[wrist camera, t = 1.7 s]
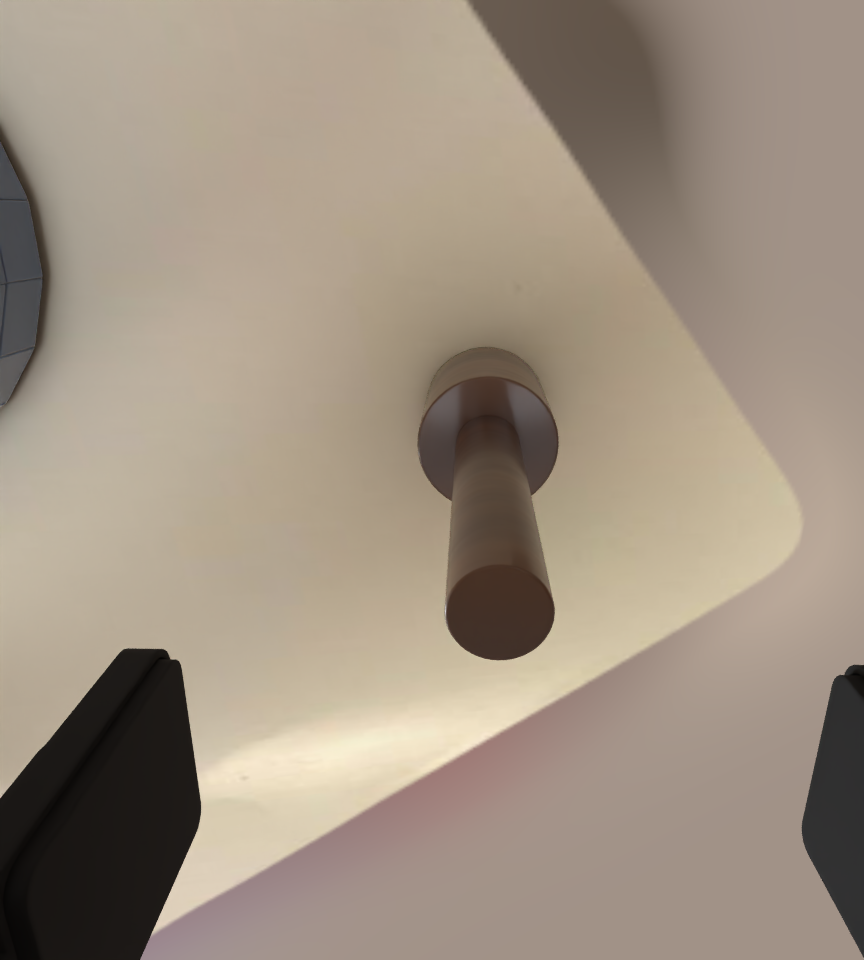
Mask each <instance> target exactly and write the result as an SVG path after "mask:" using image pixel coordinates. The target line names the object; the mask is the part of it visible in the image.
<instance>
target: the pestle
mask: <svg viewBox="0 0 864 960" xmlns="http://www.w3.org/2000/svg"><path fill="white" fill-rule="evenodd" d="M558 447H559V441H558V431H557V426H556V423H555V420H554V417H553V415H552V412H551V410H550V407H549V405H548V402H547V400H546V397H545V395H544V392H543V390H542V387H541V385H540V382H539V380H538V378H537V376H536V375H535V373H534V371H533V370H532V369H531V368H530V367H529V365H528V364H526V363H525V362H524V361H523V360H522V359H520V358H519V357H517V356H516V355H514V354H512V353H510V352H507V351H505V350H502V349H497V348H487V347H485V348H475V349H470V350H467V351H464V352H462V353H460V354H458V355H456V356H454V357H453V358H451V359H450V360H448V361H447V362H446V363H445V364H444V365H443V366H442V367H441V368H440V369H439V370H438V372H437V373H436V375H435V376H434V378H433V380H432V382H431V385H430V388H429V390H428V395H427V399H426V403H425V407H424V411H423V415H422V420H421V424H420V428H419V433H418V455H419V459H420V463H421V466H422V468H423V471H424V473H425V474H426V476H427V478H428V479H429V481H430V482H431V484H432V485H433V486H434V487H435V488H436V489H437V490H438V491H439V492H440V493H441V494H442V495H444V496H445V497H446V498H448V499H449V500H451V501H452V508H451V523H450V538H449V553H448V568H447V583H446V598H445V620H446V624H447V627H448V630H449V631H450V633H451V635H452V636H453V638H454V639H455V640H456V642H457V643H458V644H459V645H460V646H461V647H463V648H464V649H465V650H467V651H468V652H470V653H472V654H474V655H476V656H479V657H482V658H485V659H491V660H508V659H514V658H518V657H520V656H523V655H525V654H527V653H529V652H531V651H532V650H534V649H535V648H537V647H538V646H539V645H540V644H541V643H542V642H543V641H544V640H545V638H546V637H547V635H548V634H549V632H550V630H551V628H552V625H553V621H554V615H555V608H554V602H553V597H552V592H551V587H550V583H549V578H548V573H547V568H546V564H545V559H544V554H543V549H542V545H541V540H540V535H539V530H538V526H537V521H536V516H535V511H534V507H533V502H532V497H531V495H533V494H534V493H535V492H536V491H537V490H538V489H539V488H540V487H541V486H542V485H543V484H544V483H545V481H546V480H547V479H548V477H549V475H550V474H551V472H552V470H553V467H554V465H555V462H556V458H557V454H558Z"/></svg>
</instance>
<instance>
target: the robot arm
mask: <svg viewBox="0 0 864 960" xmlns="http://www.w3.org/2000/svg"><path fill="white" fill-rule="evenodd" d="M200 816H201V800H200V793H199V786H198V779H197V772H196V765H195V758H194V751H193V744H192V737H191V731H190V724H189V717H188V710H187V703H186V696H185V689H184V682H183V675H182V668H181V664H180V663H179V661H178V660H170V657H169V654H168V653H167V651H165V650H164V649H129V648H128V649H123V650H122V651H121V652H120V653H119V654H118V655H117V657H116V658H115V659H114V660H113V662H112V663H111V664H110V665H109V667H108V668H107V669H106V670H105V672H104V673H103V674H102V675H101V677H100V678H99V679H98V680H97V682H96V683H95V684H94V685H93V687H92V688H91V689H90V690H89V691H88V693H87V694H86V695H85V696H84V698H83V699H82V700H81V701H80V703H79V704H78V705H77V706H76V708H75V709H74V710H73V711H72V713H71V714H70V715H69V716H68V718H67V719H66V720H65V721H64V723H63V724H62V725H61V726H60V727H59V729H58V730H57V731H56V732H55V734H54V735H53V736H52V737H51V739H50V740H49V741H48V742H47V744H46V745H45V746H44V747H42V748H41V749H40V750H39V751H38V752H37V754H36V755H35V756H34V757H33V759H32V760H31V761H30V762H29V764H28V765H27V766H26V767H25V769H24V770H23V771H22V772H21V773H20V775H19V776H18V777H17V778H16V780H15V781H14V782H13V783H12V785H11V786H10V787H9V788H8V790H7V791H6V792H5V793H4V795H3V796H2V797H1V798H0V960H140V958H141V956H142V954H143V952H144V949H145V947H146V945H147V943H148V940H149V938H150V936H151V934H152V931H153V929H154V927H155V925H156V922H157V920H158V918H159V916H160V913H161V911H162V909H163V907H164V904H165V902H166V900H167V898H168V895H169V893H170V891H171V888H172V886H173V884H174V882H175V879H176V877H177V875H178V873H179V870H180V868H181V866H182V864H183V861H184V859H185V857H186V855H187V852H188V850H189V848H190V846H191V843H192V841H193V839H194V837H195V834H196V832H197V829H198V826H199V822H200ZM802 836H803V842H804V845H805V848H806V850H807V853H808V855H809V857H810V859H811V861H812V862H813V864H814V866H815V868H816V870H817V871H818V873H819V875H820V877H821V879H822V881H823V883H824V884H825V887H826V888H827V890H828V892H829V894H830V896H831V898H832V900H833V901H834V903H835V905H836V907H837V909H838V911H839V913H840V914H841V916H842V918H843V920H844V922H845V924H846V925H847V927H848V929H849V931H850V933H851V935H852V937H853V938H854V940H855V942H856V944H857V946H858V948H859V950H860V952H861V953H862V955H863V957H864V665H853V666H850V667H849V668H848V669H847V670H846V672H845V675H839V676H837V677H836V678H835V679H834V681H833V684H832V688H831V693H830V698H829V702H828V707H827V711H826V716H825V720H824V725H823V730H822V734H821V739H820V744H819V748H818V752H817V757H816V762H815V766H814V771H813V775H812V780H811V784H810V789H809V794H808V798H807V803H806V808H805V812H804V816H803V821H802Z"/></svg>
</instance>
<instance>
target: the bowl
mask: <svg viewBox="0 0 864 960" xmlns="http://www.w3.org/2000/svg"><path fill="white" fill-rule="evenodd" d="M27 199H28V198H27V196H26V193H25V191H24V189H23V187H22V185H21V183H20V181H19V179H18V177H17V175H16V173H15V171H14V169H13V167H12V164H11V162H10V160H9V158H8V156H7V154H6V152H5V150H4V148H3V146H2V144H1V142H0V408H1V407H2V406H4V405H5V404H6V402H7V401H8V400H9V398H10V396H11V394H12V392H13V390H14V388H15V386H16V384H17V382H18V380H19V378H20V376H21V374H22V372H23V370H24V368H25V366H26V364H27V362H28V360H29V358H30V356H31V354H32V353H33V351H34V348H35V347H34V346H35V343H36V335H37V326H38V318H39V309H40V301H41V292H42V284H43V279H42V277H43V274H42V268H41V263H40V258H39V252H38V247H37V242H36V236H35V231H34V226H33V220H32V215H31V210H30V205H29V201H28V200H27Z"/></svg>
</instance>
